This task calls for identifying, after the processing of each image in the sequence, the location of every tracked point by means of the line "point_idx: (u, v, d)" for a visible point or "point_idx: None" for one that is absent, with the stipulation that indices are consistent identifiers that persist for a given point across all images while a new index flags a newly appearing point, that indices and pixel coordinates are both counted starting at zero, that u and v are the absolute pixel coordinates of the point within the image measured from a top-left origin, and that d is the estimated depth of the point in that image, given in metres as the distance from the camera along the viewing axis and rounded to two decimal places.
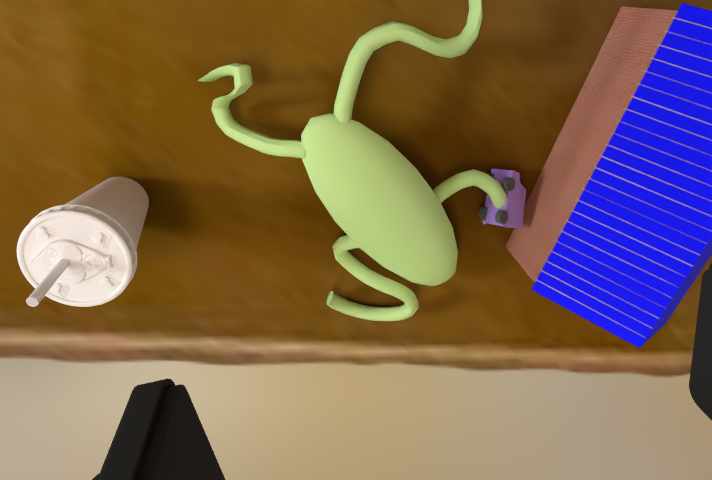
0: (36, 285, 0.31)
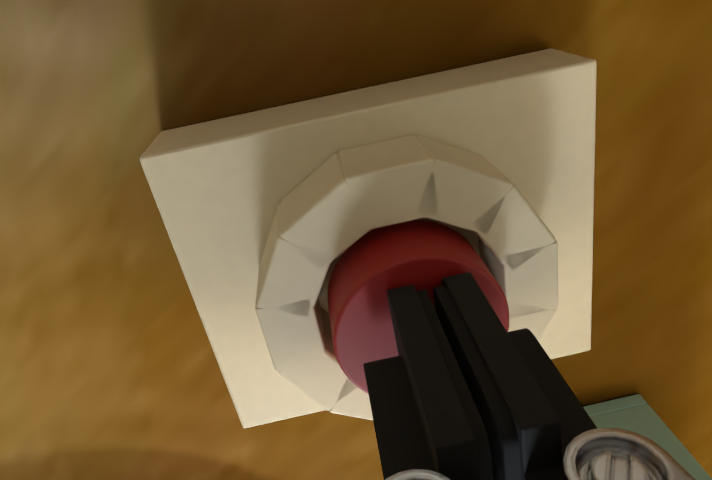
0: None
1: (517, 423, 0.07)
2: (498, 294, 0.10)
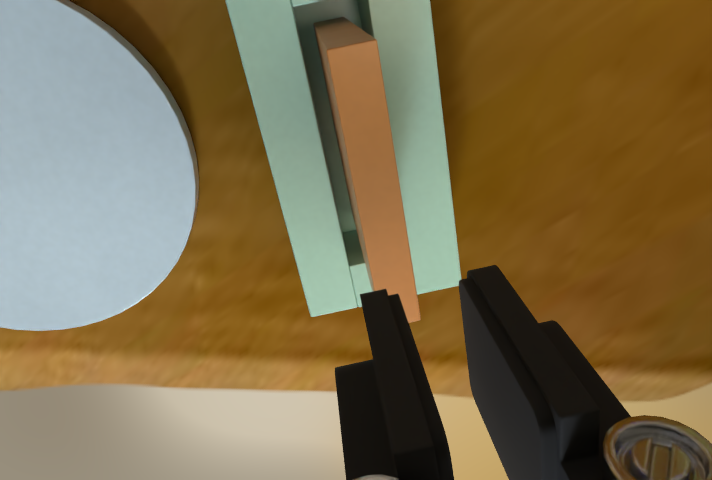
0: None
1: (554, 412, 0.07)
2: None
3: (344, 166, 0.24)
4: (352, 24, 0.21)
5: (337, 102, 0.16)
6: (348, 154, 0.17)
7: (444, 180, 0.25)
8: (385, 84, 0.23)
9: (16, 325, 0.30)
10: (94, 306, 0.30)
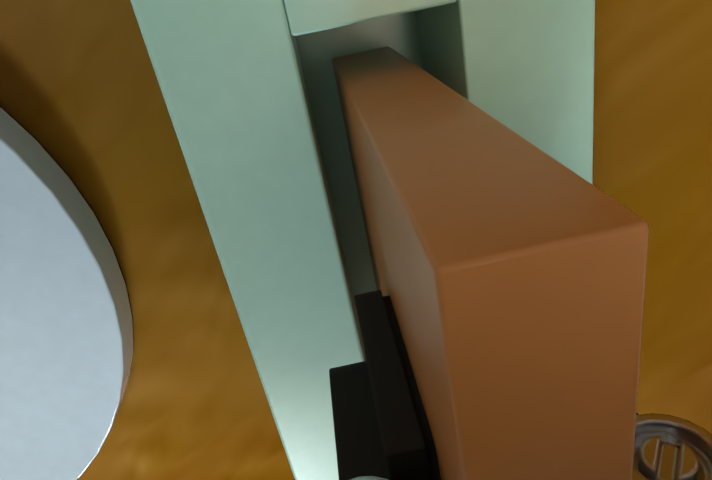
0: None
1: None
2: None
3: None
4: (430, 78, 0.09)
5: (458, 430, 0.04)
6: None
7: None
8: None
9: None
10: None
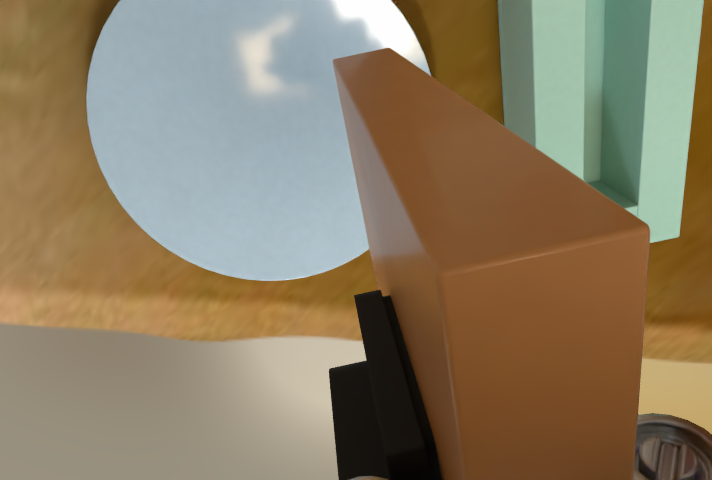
0: None
1: None
2: None
3: None
4: (431, 80, 0.09)
5: (460, 432, 0.04)
6: None
7: (684, 135, 0.27)
8: (652, 41, 0.25)
9: (247, 275, 0.32)
10: (321, 257, 0.32)
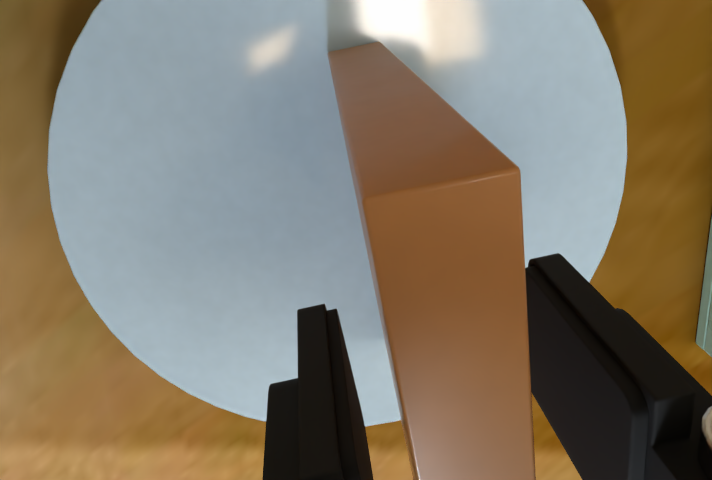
0: None
1: (648, 395, 0.07)
2: None
3: None
4: (405, 68, 0.10)
5: (389, 331, 0.06)
6: (413, 444, 0.06)
7: None
8: None
9: None
10: None
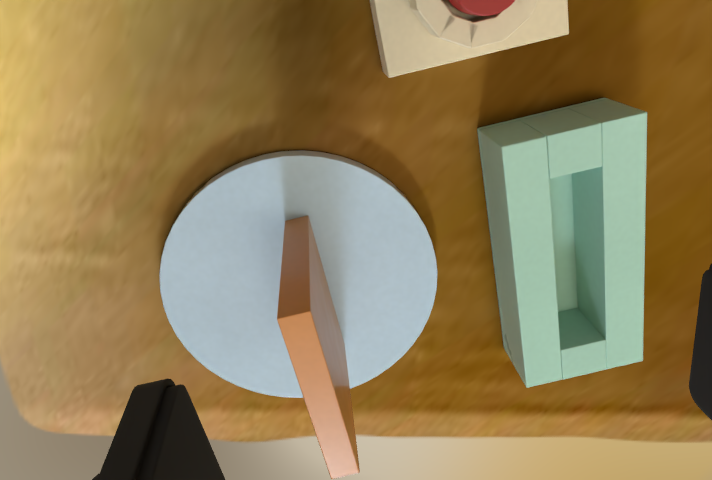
0: None
1: None
2: None
3: None
4: (307, 250, 0.28)
5: (286, 346, 0.24)
6: (297, 376, 0.24)
7: (640, 287, 0.33)
8: (606, 224, 0.31)
9: (286, 394, 0.38)
10: None
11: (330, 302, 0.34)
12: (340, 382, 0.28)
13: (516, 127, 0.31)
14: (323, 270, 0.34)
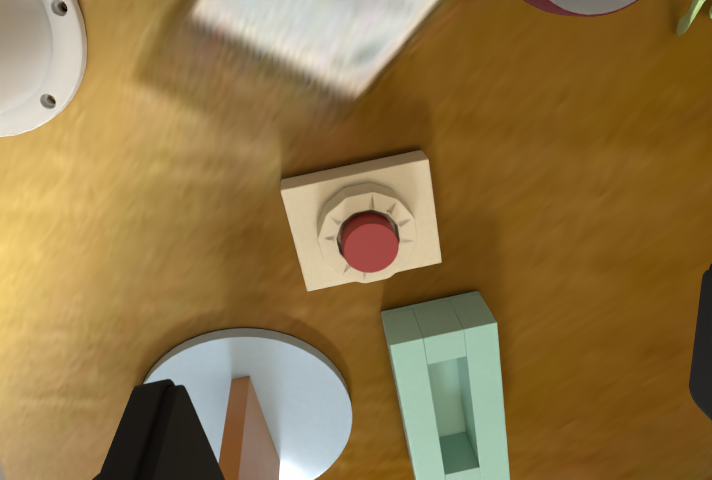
0: None
1: None
2: (393, 235, 0.34)
3: None
4: (243, 421, 0.38)
5: None
6: None
7: (502, 432, 0.44)
8: (473, 392, 0.42)
9: None
10: None
11: (266, 439, 0.44)
12: None
13: (407, 319, 0.41)
14: (261, 413, 0.44)
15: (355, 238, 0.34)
